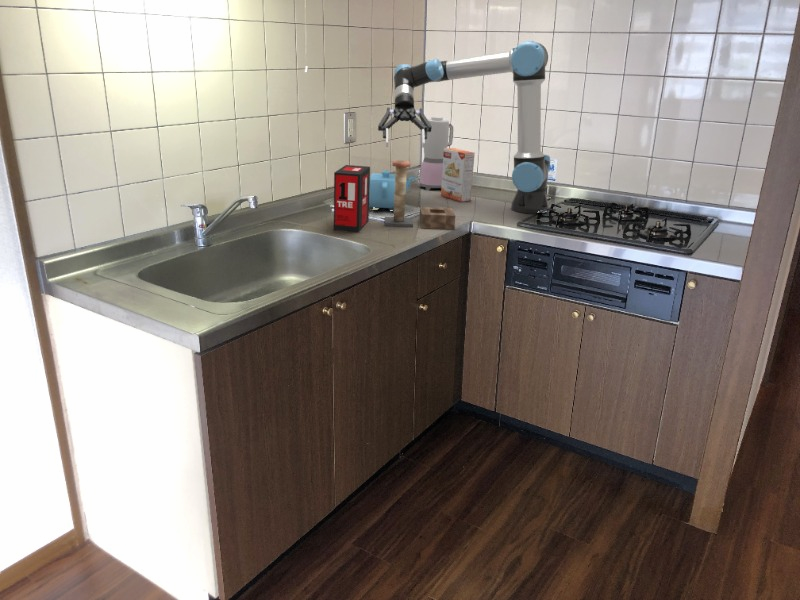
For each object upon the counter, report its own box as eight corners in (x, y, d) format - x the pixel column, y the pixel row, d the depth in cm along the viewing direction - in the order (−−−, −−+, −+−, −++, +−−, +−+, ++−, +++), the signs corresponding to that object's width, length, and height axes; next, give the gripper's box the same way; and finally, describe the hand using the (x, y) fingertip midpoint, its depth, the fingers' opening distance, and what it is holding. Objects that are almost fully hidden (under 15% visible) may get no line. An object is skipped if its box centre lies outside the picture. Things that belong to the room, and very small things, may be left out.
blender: (428, 191, 296) (433, 118, 285) (414, 186, 306) (417, 115, 295) (456, 189, 304) (462, 118, 293) (441, 184, 314) (446, 115, 303)
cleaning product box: (358, 232, 226) (360, 174, 218) (333, 230, 227) (334, 172, 220) (368, 221, 241) (370, 166, 234) (345, 219, 242) (345, 164, 235)
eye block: (451, 221, 246) (452, 208, 245) (454, 229, 235) (455, 215, 233) (419, 219, 246) (420, 206, 244) (421, 228, 235) (422, 214, 233)
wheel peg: (407, 218, 243) (410, 161, 235) (407, 222, 237) (410, 164, 229) (389, 217, 243) (392, 160, 235) (390, 222, 237) (392, 163, 229)
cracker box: (439, 196, 288) (443, 147, 281) (450, 194, 292) (453, 147, 284) (460, 202, 278) (464, 152, 271) (471, 201, 281) (475, 152, 274)
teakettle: (383, 216, 249) (384, 177, 244) (351, 206, 262) (352, 169, 256) (417, 209, 262) (419, 173, 257) (385, 201, 274) (387, 165, 269)
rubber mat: (411, 220, 245) (411, 217, 245) (412, 227, 236) (412, 224, 235) (384, 219, 244) (385, 216, 244) (385, 225, 235) (385, 223, 235)
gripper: (435, 107, 256) (437, 151, 248) (371, 106, 255) (371, 150, 246) (437, 94, 250) (439, 139, 241) (372, 92, 248) (371, 137, 240)
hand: (405, 145), depth 244 cm, fingers open, 13 cm apart
